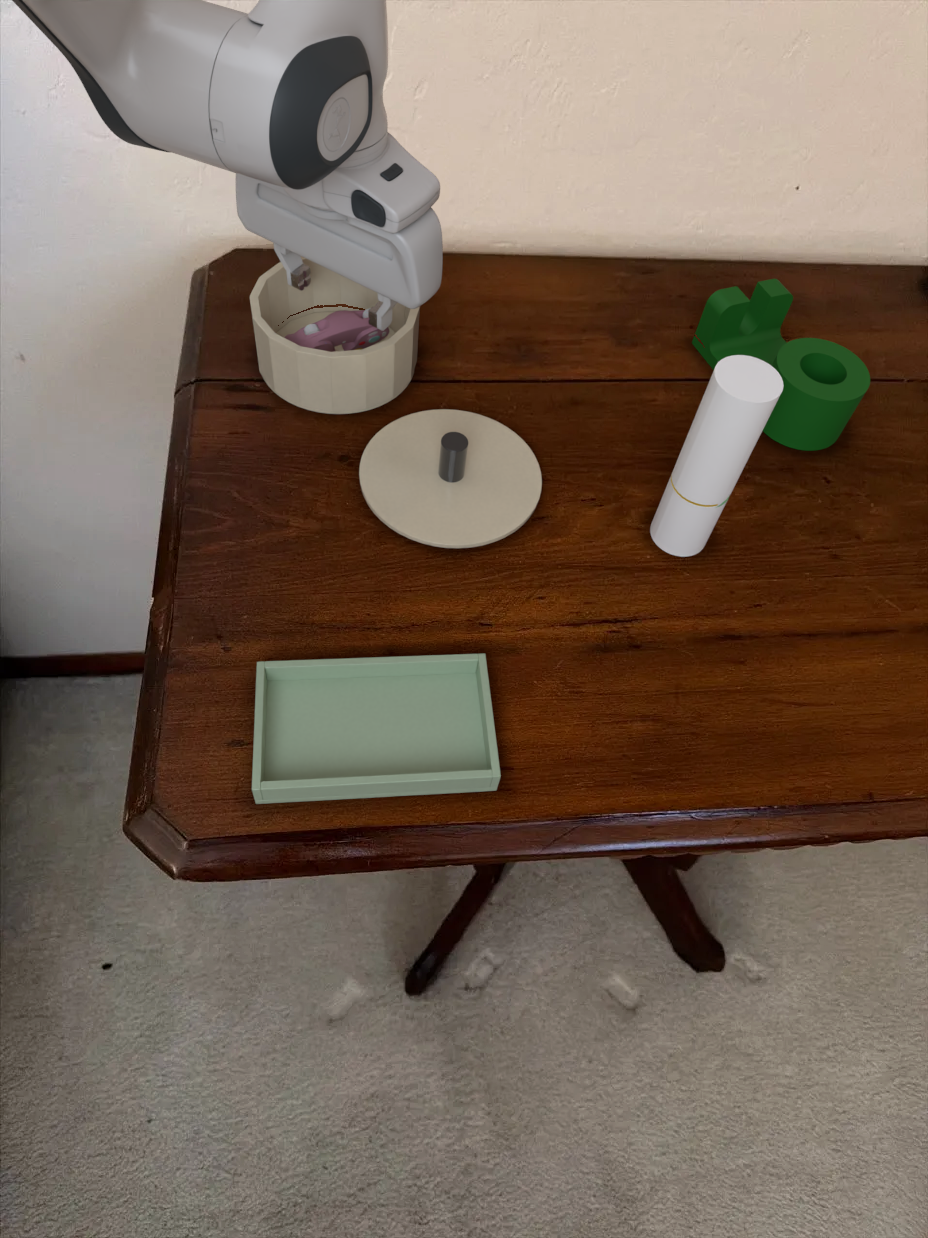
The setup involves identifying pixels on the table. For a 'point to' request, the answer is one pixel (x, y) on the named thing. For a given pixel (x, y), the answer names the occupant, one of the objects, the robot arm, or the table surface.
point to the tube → (715, 452)
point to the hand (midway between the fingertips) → (339, 304)
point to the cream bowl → (340, 374)
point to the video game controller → (339, 332)
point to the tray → (373, 728)
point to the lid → (450, 478)
